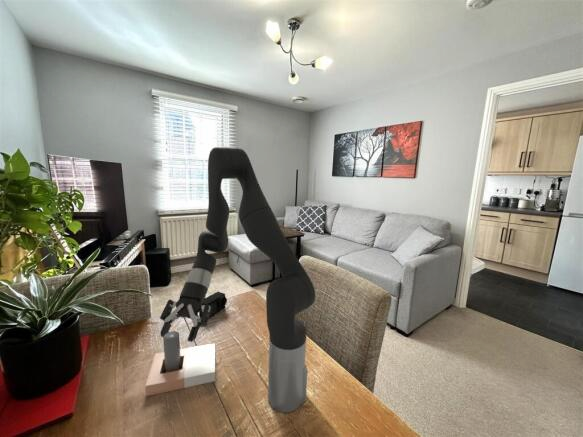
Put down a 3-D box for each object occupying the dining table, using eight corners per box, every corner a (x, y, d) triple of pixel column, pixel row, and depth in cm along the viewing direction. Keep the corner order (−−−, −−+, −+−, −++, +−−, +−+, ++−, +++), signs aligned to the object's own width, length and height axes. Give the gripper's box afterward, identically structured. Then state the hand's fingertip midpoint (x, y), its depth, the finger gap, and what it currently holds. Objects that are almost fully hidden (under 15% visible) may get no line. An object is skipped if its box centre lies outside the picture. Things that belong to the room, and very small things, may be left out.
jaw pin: (181, 366, 72) (180, 330, 70) (180, 377, 69) (178, 339, 67) (166, 369, 71) (164, 332, 69) (164, 380, 67) (162, 341, 65)
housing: (214, 351, 79) (214, 343, 78) (215, 381, 68) (215, 371, 67) (155, 362, 74) (155, 353, 73) (146, 396, 62) (145, 386, 62)
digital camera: (208, 321, 95) (208, 305, 94) (198, 317, 98) (198, 301, 96) (227, 309, 104) (227, 294, 103) (218, 305, 107) (218, 291, 105)
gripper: (171, 278, 78) (147, 333, 68) (213, 283, 75) (193, 340, 66) (182, 286, 84) (161, 338, 74) (221, 291, 81) (204, 345, 72)
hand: (176, 339), depth 70 cm, fingers open, 8 cm apart
